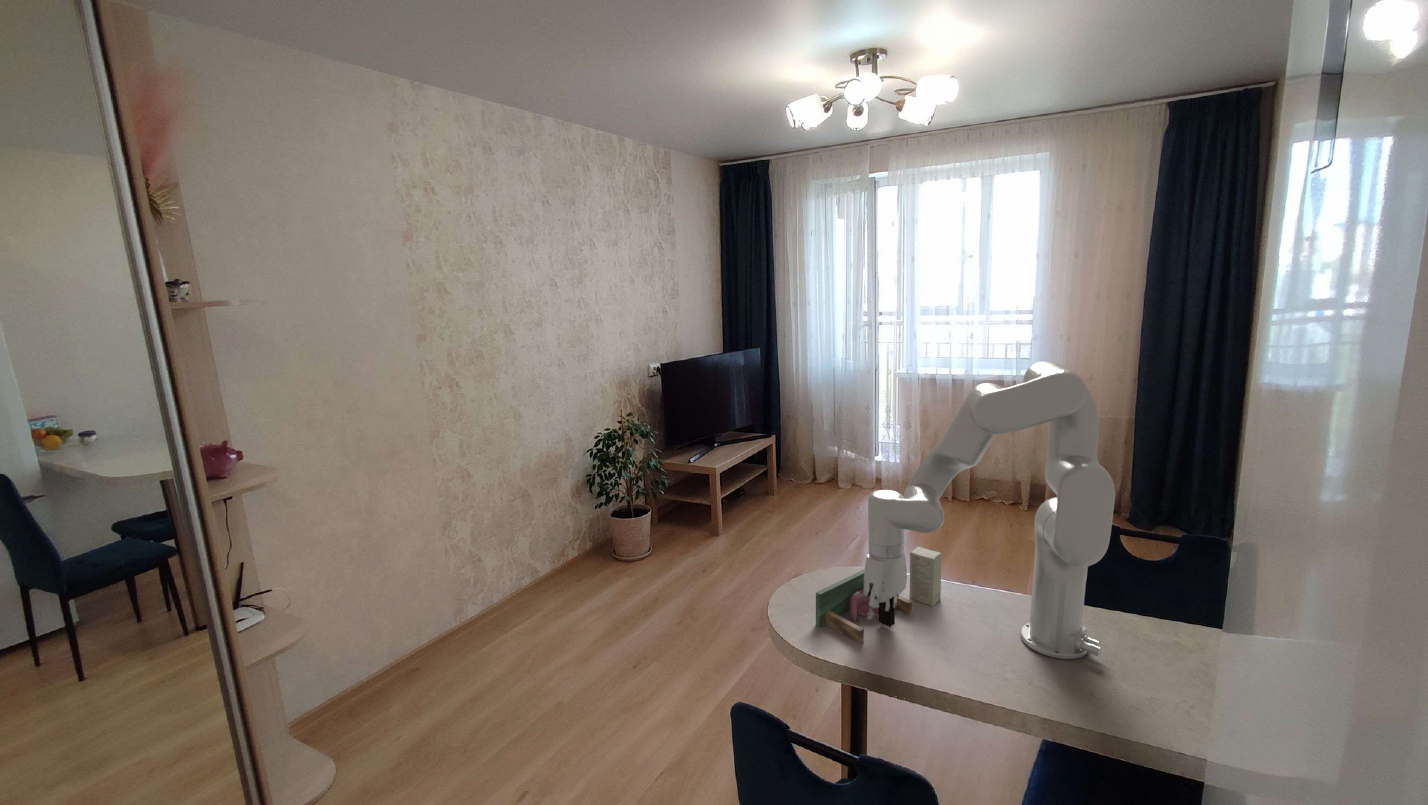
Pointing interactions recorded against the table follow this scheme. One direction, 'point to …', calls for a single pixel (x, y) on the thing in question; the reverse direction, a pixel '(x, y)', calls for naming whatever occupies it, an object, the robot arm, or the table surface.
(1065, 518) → the robot arm
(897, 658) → the table surface
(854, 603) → the video game controller
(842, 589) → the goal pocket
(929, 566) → the skincare box
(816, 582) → the table surface
